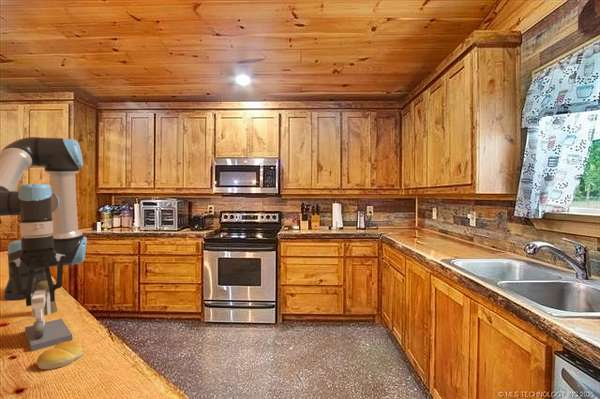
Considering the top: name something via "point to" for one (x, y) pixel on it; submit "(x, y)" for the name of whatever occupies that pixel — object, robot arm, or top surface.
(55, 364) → the bread roll
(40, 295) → the gate
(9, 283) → the robot arm
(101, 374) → the top surface
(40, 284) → the olive mushroom
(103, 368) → the top surface
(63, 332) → the board
